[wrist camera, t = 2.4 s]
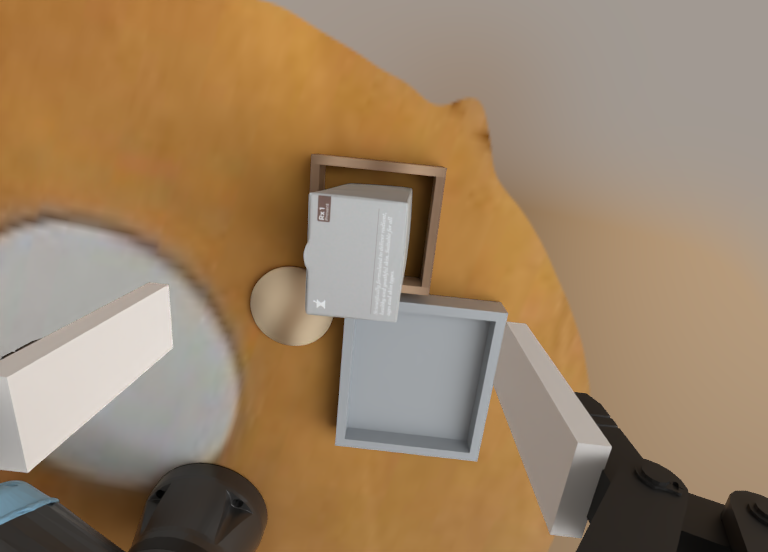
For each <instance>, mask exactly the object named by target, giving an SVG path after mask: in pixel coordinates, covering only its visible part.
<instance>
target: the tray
mask: <svg viewBox="0 0 768 552" xmlns="http://www.w3.org/2000/svg"><path fill="white" fill-rule="evenodd" d="M507 316H508V313H507V311H506V309H505V308H504V306H503V305H502V303H501V302H493V301H484V300H474V299H465V298H456V297H447V296H437V295H429V296H427V295H418V294H408V293H401V295H400V301H399V309H398V316H397V321H396V322H386V321H375V320H363V319H352V318H345V320H344V334H343V347H342V361H341V374H340V387H339V401H338V414H337V428H336V441H335V445H336V446H345V447H354V448H363V449H372V450H381V451H390V452H398V453H407V454H416V455H425V456H434V457H443V458H452V459H460V460H469V461H477V460H478V455H479V450H480V445H481V440H482V436H483V431H484V426H485V421H486V417H487V412H488V407H489V402H490V397H491V393H492V388H493V381H494V376H495V372H496V367H497V362H498V357H499V353H500V348H501V343H502V338H503V334H504V329H505V324H506V321H507Z"/></svg>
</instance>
